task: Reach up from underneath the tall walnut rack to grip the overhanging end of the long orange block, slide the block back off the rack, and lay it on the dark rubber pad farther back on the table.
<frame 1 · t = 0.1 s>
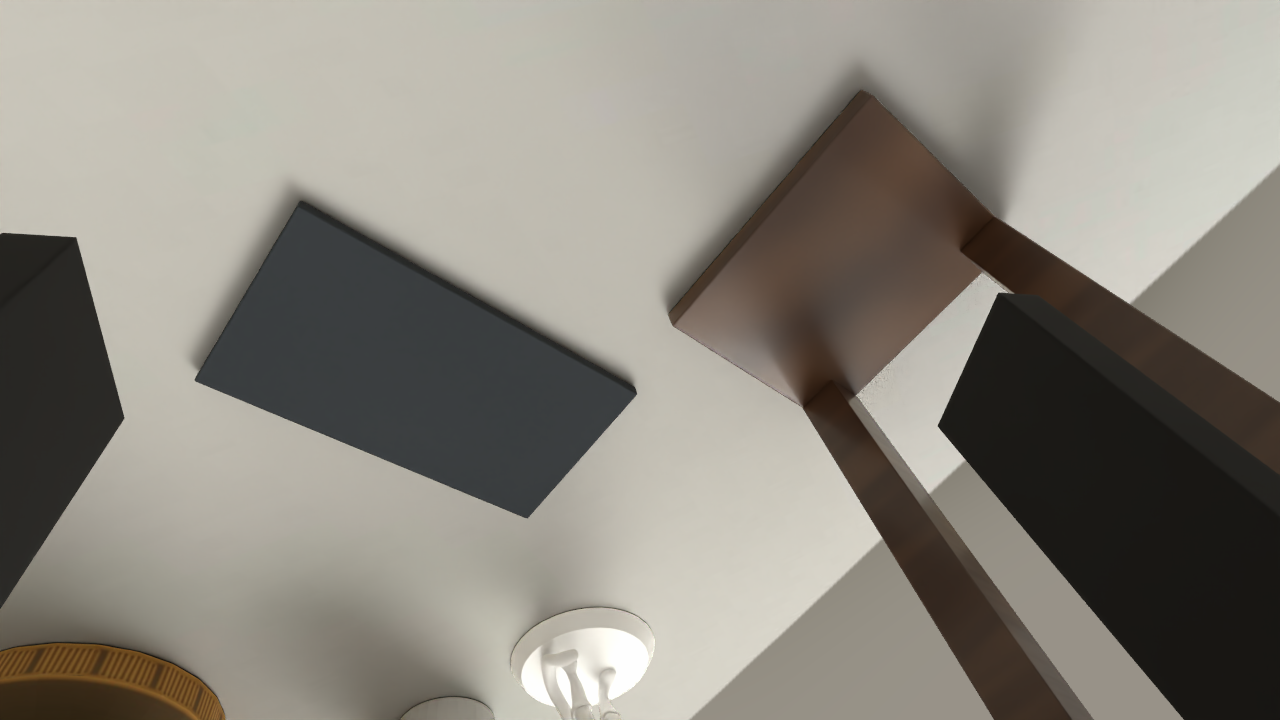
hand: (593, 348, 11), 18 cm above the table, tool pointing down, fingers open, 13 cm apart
figurine: (583, 653, 45), on the table
rubber pad: (432, 380, 32), on the table
walnut rack: (757, 208, 31), on the table
vase: (86, 719, 40), on the table
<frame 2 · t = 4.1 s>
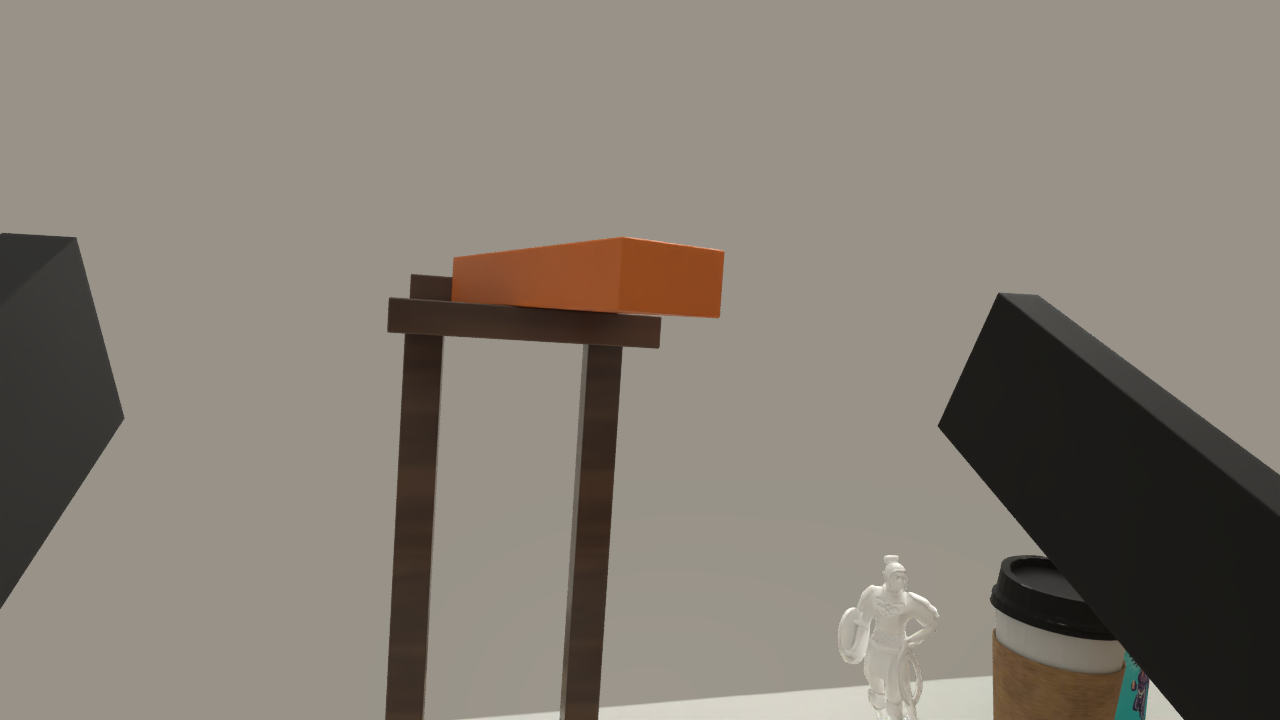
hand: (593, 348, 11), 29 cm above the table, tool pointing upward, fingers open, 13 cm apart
orange block: (559, 309, 34), point 30 cm above the table, touching walnut rack
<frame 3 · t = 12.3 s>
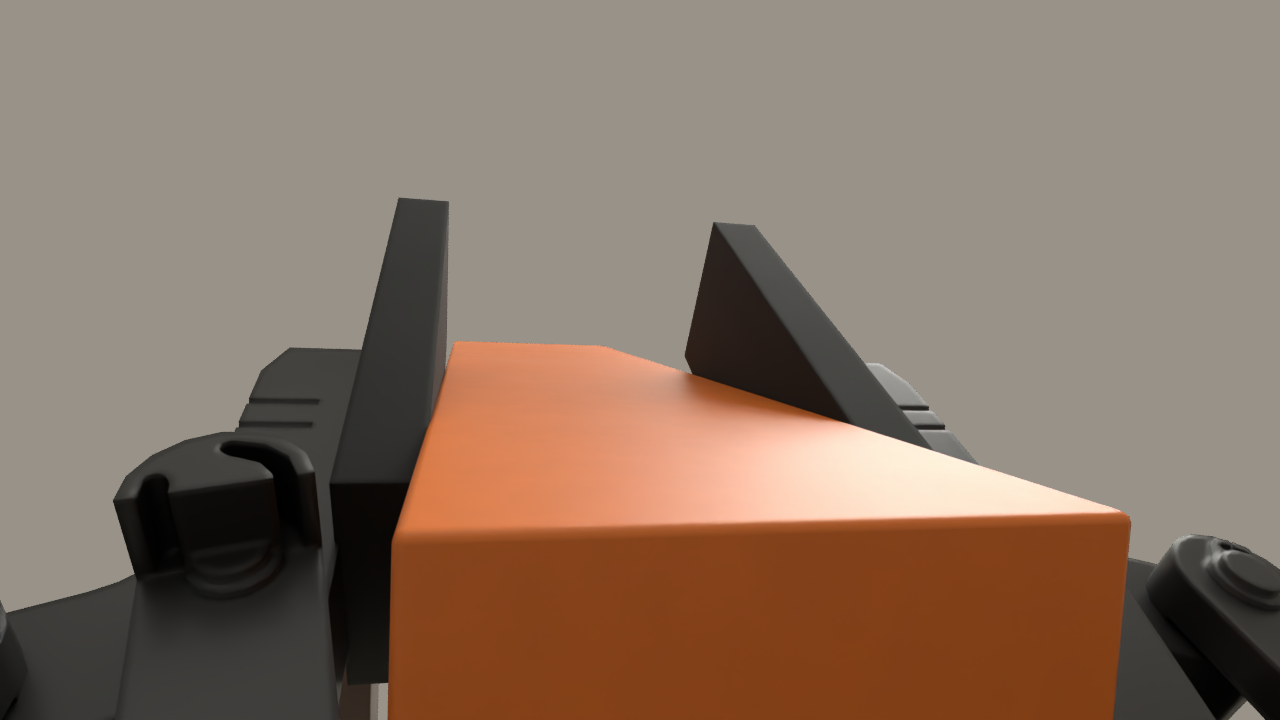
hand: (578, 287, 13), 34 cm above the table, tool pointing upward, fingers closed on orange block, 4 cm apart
orange block: (570, 512, 13), point 30 cm above the table, touching gripper, walnut rack
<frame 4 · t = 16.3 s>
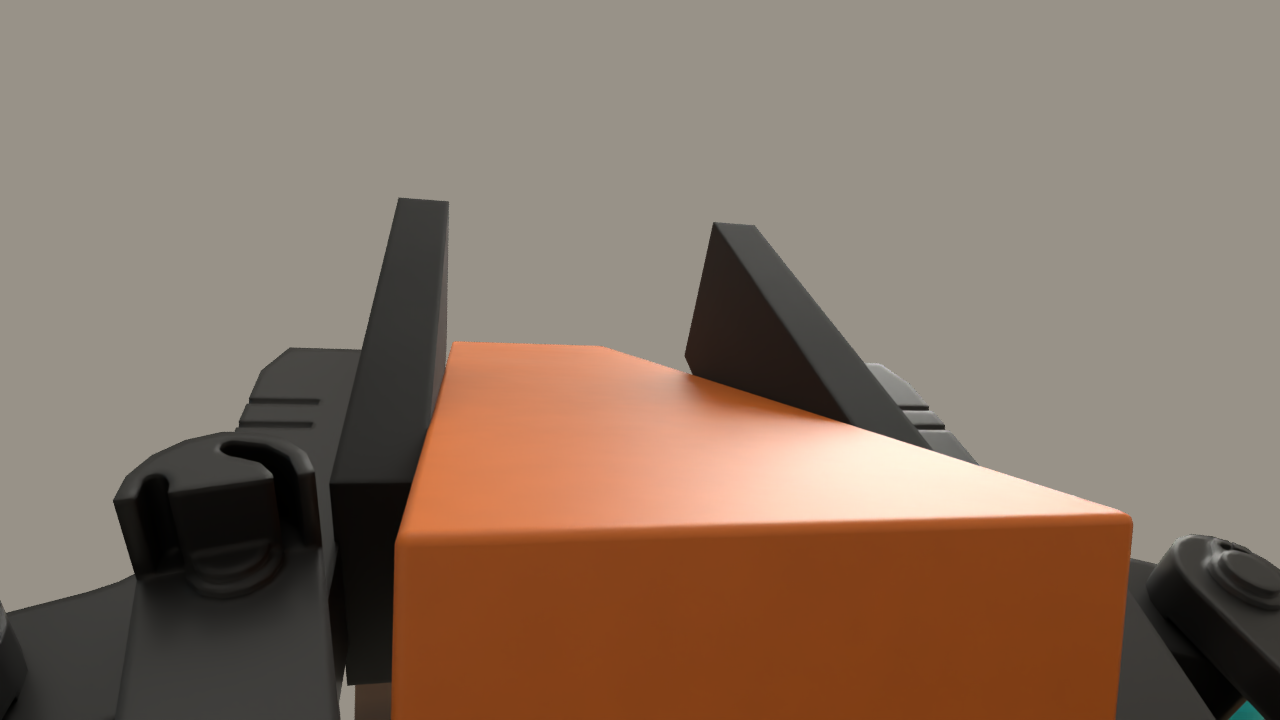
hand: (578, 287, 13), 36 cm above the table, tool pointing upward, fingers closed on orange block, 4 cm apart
orange block: (569, 513, 13), point 33 cm above the table, touching gripper
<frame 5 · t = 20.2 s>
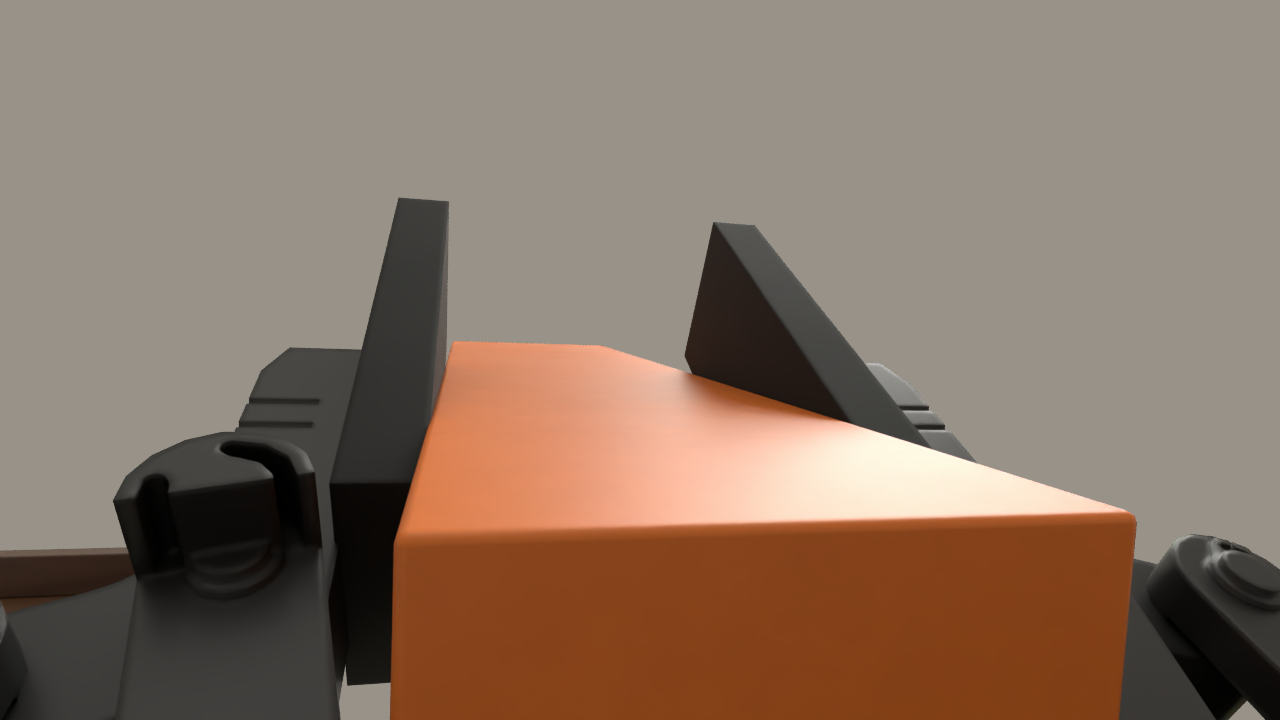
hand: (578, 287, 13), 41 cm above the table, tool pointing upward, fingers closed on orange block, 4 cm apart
orange block: (569, 513, 13), point 37 cm above the table, touching gripper
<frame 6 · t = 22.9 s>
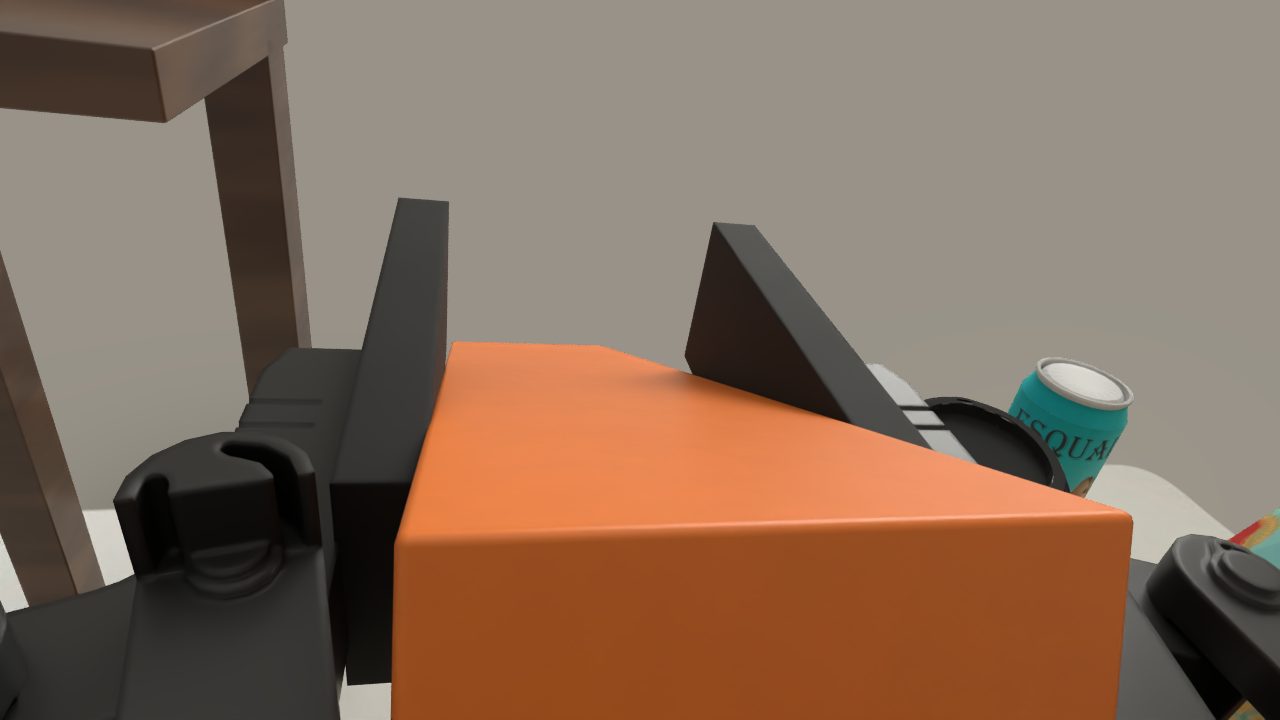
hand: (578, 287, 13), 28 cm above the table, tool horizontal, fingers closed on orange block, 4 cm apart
beverage can: (985, 569, 50), on the table
coffee cup: (888, 652, 42), on the table
orange block: (569, 513, 13), point 24 cm above the table, tilted 27°, touching gripper
when the fingers open (8 cm above the table, at t = 28.7 s): orange block drops 4 cm, resting on rubber pad.
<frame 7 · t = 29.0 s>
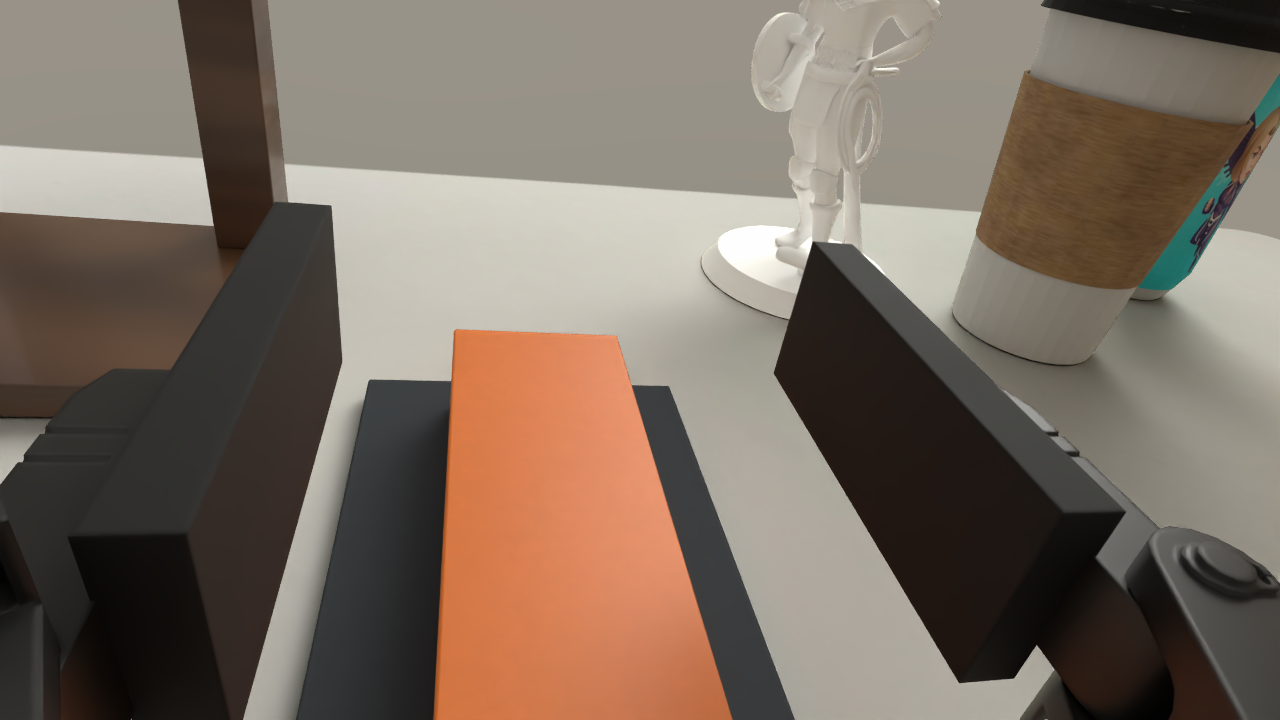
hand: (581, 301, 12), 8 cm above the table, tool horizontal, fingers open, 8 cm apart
beverage can: (1112, 284, 40), on the table
figurine: (794, 281, 34), on the table
rubber pad: (544, 613, 16), on the table
coffee cup: (1017, 333, 33), on the table
orange block: (559, 689, 14), point 1 cm above the table, touching rubber pad
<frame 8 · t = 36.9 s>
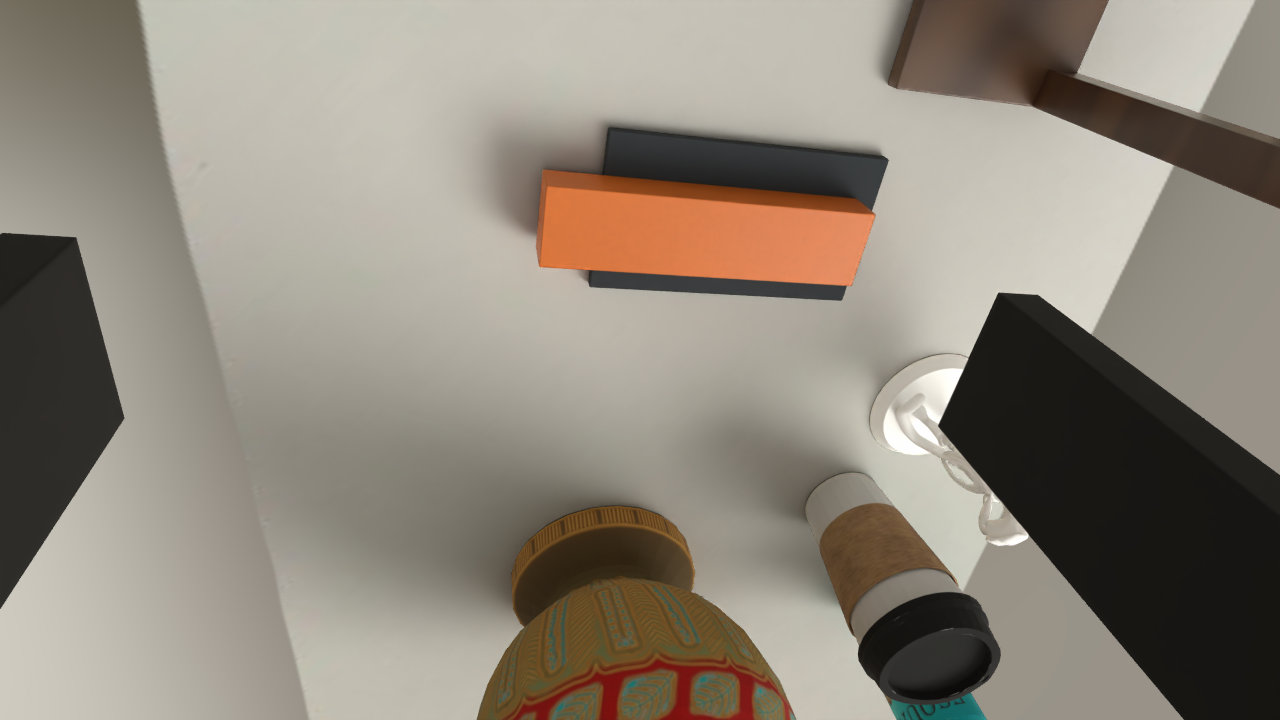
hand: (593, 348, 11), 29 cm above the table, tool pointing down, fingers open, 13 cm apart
beverage can: (867, 586, 64), on the table
figurine: (926, 403, 53), on the table
rubber pad: (734, 220, 42), on the table
vase: (601, 569, 56), on the table
coffee cup: (840, 499, 57), on the table
orange block: (700, 222, 41), point 1 cm above the table, touching rubber pad
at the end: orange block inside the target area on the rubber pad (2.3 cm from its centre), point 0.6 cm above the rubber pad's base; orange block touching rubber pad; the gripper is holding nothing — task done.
